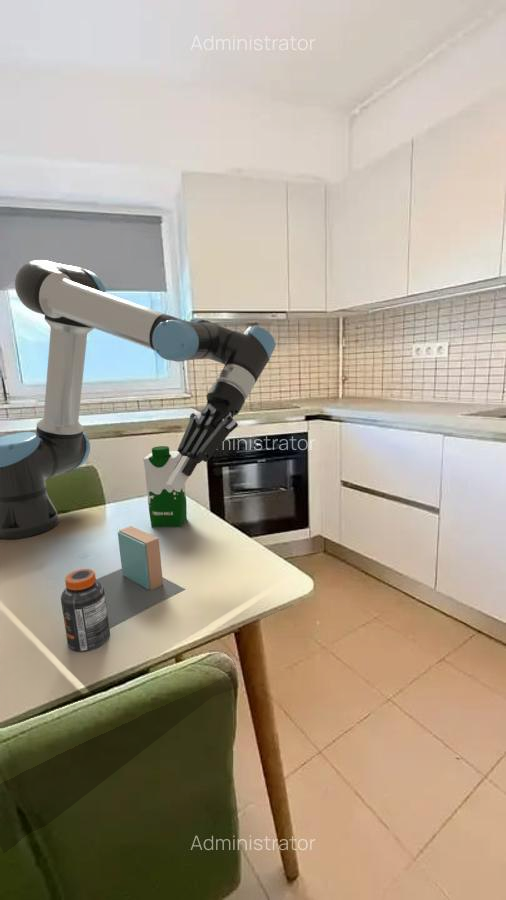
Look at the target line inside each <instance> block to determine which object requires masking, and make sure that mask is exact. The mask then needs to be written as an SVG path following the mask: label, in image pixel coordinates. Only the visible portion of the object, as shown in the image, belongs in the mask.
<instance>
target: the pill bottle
mask: <svg viewBox="0 0 506 900" xmlns="http://www.w3.org/2000/svg"><path fill="white" fill-rule="evenodd" d="M96 579H97V577H96V573H95V571H94V570H93V569H91V568H80V569H76V570H74V571H71V572H70V573H68V574H67V575H66V576H65V587H66V588H64V590H63V592H61V596H60V602H61V609H62V610H61V611H62V614H63V615H62V616H63V622H64V629H65V635H66V636H65V637H66V641H67V642H66V643H67V647H68V648H69V650H71V651H73V652H75V653H86V652H92V651H94V650H97V649H98V648H100V647H102V646H104V645H105V644H106V643H107V642H108V641H109V639H110V636H111V634H110V632H111V631H110V629H109V622H108V615H107V607H106V600H105V593H104V587H103V585H102V584H101V583H99V582H97V581H96Z"/></svg>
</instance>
